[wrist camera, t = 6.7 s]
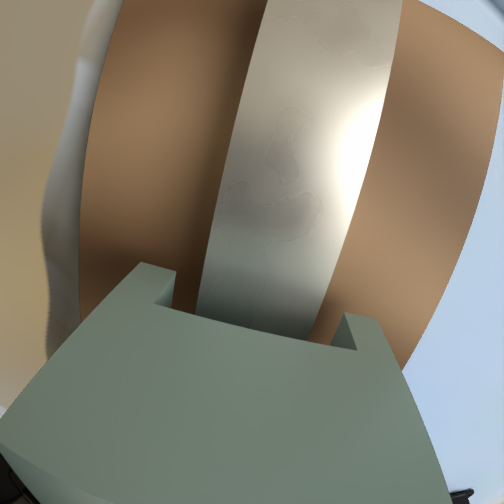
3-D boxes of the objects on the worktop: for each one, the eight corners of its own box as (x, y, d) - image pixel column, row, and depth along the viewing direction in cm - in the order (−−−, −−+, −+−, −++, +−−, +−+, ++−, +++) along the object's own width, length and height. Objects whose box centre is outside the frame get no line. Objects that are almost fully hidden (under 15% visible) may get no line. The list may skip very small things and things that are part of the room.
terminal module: (289, 468, 11) (286, 591, 5) (136, 434, 11) (90, 551, 5) (376, 318, 8) (456, 518, 2) (140, 261, 8) (-12, 433, 2)
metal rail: (234, 474, 13) (231, 497, 12) (177, 461, 13) (171, 484, 12) (385, 11, 6) (403, -8, 5) (281, -19, 6) (282, -45, 5)
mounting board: (308, 477, 14) (309, 490, 14) (105, 430, 14) (99, 442, 13) (489, 57, 7) (505, 53, 6) (155, -37, 7) (145, -50, 6)
